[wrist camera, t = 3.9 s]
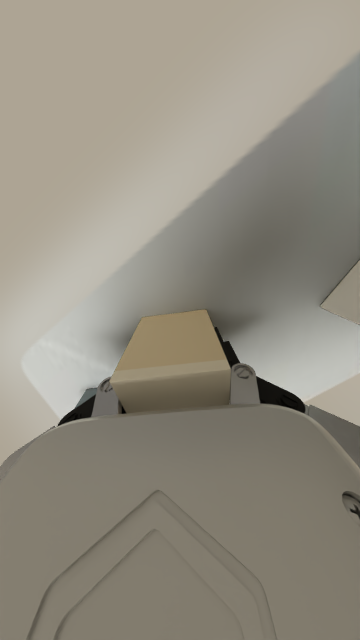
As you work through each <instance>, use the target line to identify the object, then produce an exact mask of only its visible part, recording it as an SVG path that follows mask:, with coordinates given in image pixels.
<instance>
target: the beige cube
mask: <svg viewBox="0 0 360 640" xmlns="http://www.w3.org/2000/svg"><path fill="white" fill-rule="evenodd" d="M230 379H231V368H230V366H229V363H228V361H227V359H226V356H225V354H224V351H223V349H222V346H221V344H220V342H219V339H218V337H217V334H216V332H215V330H214V327H213V325H212V322H211V320H210V318H209V315H208V313H207V310H206V309H204V310H196V311H188V312H180V313H172V314H164V315H156V316H148V317H142V318H141V320H140V322H139V324H138V326H137V328H136V330H135V332H134V334H133V336H132V338H131V340H130V342H129V344H128V346H127V348H126V350H125V352H124V354H123V355H122V357H121V359H120V361H119V363H118V365H117V367H116V369H115V371H114V373H113V375H112V377H111V379H110V381H109V382H110V384H111V386H112V387H113V389H114V391H115V393H116V395H117V397H118V398H119V400H120V402H121V404H122V406H123V408H124V410H125V411H126V413H137V412H148V411H160V410H171V409H183V408H195V407H207V406H219V405H229V402H230Z"/></svg>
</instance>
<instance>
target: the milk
mask: <svg viewBox="0 0 360 640" xmlns="http://www.w3.org/2000/svg"><path fill="white" fill-rule="evenodd" d="M320 307H321V308H323V309H325V310H327V311H329V312H332V313H334V314H336V315H338V316H341V317H343V318H345V319H347V320H350V321H352V322H354V323H356V324H359V325H360V260H359V261H358V263H357V264H356V265H355V266H354V267H353V268H352V269H351V271H350V272H349V273H348V274H347V275H346V276H345V278H344V279H343V280H342V281H341V282H340V283H339V285H338V286H337V287H336V288H335V289H334V290H333V292H332V293H331V294H330V295H329V296H328V297H327V299H326V300H325V301H324V302H323V303H322V304H321V306H320Z"/></svg>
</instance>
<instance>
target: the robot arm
mask: <svg viewBox="0 0 360 640" xmlns="http://www.w3.org/2000/svg"><path fill="white" fill-rule="evenodd" d="M214 330H215V332H216V334H217V337H218V339H219V342H220V344H221V346H222V349H223V351H224V354H225V356H226V359H227V361H228V363H229V366H230V368H231V379H230V405H219V406H207V407H195V408H183V409H171V410H160V411H148V412H137V413H126V411H125V410H124V408H123V406H122V404H121V402H120V400H119V398H118V397H117V395H116V393H115V391H114V389H113V387H112V386H111V384H110V382H109V381H110V379H111V377H109V378H106V379H105V380H103V381H102V382H101V383H100V385H99V386H98V388H97V393H96V394H95V395H94V396H92V397H91V398H89V399H88V400H87V401H85V402H84V403H82V404H81V405H79V406H78V407H76V408H75V409H74V410H72V411H71V412H69V413H68V414H67V415H65V416H64V417H63V418H62V419H61V421H60V422H59V424H58V426H57V427H55V426H53V427H52V428H50V429H49V430H47V431H46V432H44V433H43V434H41V435H40V436H38V437H37V438H35V439H34V440H32V441H31V442H29V443H28V444H26V445H25V446H23V447H22V448H20V449H18V450H17V451H16V452H14V453H13V454H12V455H10V456H9V457H8V458H7V459H6V460H5V461H4V462H3V464H2V465H1V466H0V640H360V427H359V426H357V425H355V424H353V423H351V422H348V421H346V420H344V419H341V418H339V417H337V416H335V415H332V414H330V413H328V412H326V411H324V410H321V409H319V408H317V407H315V406H312V405H309V406H307V405H305V404H304V403H303V402H302V401H301V399H299V398H298V397H297V396H296V395H294V394H292V393H290V392H288V391H286V390H284V389H282V388H280V387H278V386H276V385H274V384H272V383H270V382H267V381H265V380H263V379H261V378H259V377H257V376H256V373H255V371H254V369H253V368H252V367H251V366H249V365H247V364H243V363H240V362H239V360H238V358H237V356H236V354H235V352H234V350H233V348H232V346H231V344H230V342H229V341H226V342H223V340H222V338H221V335H220V333H219V331H218V329H217V327H215V328H214Z"/></svg>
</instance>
